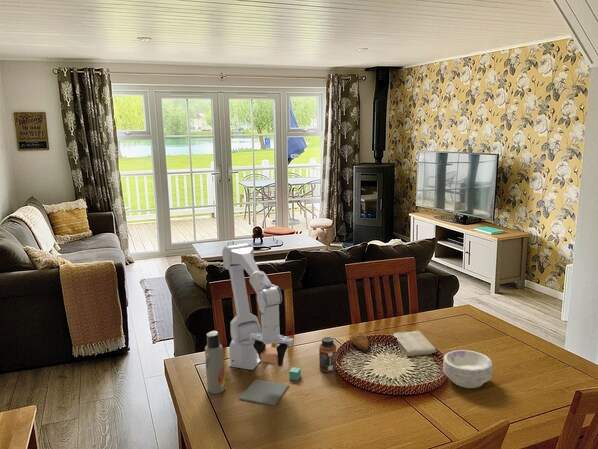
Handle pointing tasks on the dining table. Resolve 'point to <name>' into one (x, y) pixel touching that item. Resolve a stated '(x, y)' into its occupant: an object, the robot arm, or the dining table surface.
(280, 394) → the slate mat
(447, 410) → the dining table surface
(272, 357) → the terracotta cover
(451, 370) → the paper bowls
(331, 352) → the supplement bottle
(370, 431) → the dining table surface
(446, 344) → the dining table surface
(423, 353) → the washcloth
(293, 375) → the teal cube
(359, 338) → the croissant
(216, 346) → the lotion bottle
